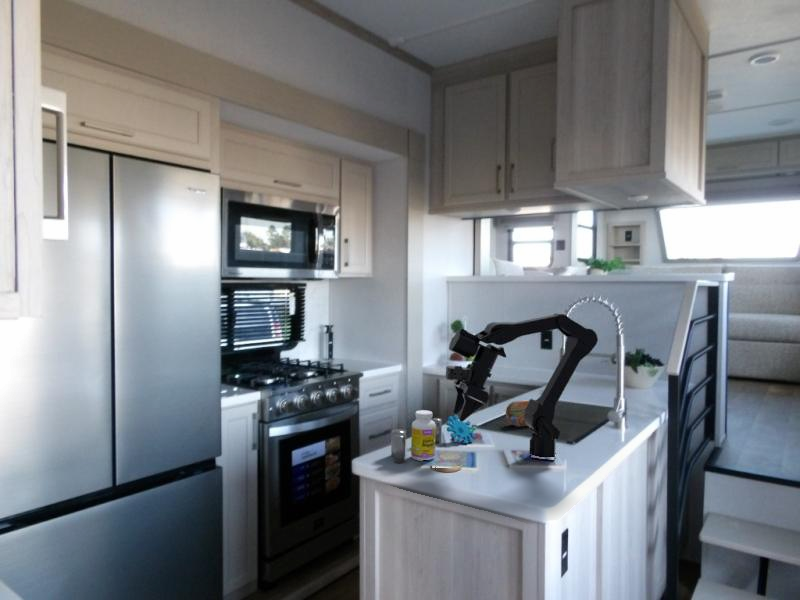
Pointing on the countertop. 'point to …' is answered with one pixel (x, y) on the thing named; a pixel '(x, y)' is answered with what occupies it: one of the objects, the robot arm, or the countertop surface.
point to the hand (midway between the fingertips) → (457, 417)
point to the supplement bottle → (423, 436)
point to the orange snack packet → (516, 413)
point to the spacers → (400, 441)
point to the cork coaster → (448, 469)
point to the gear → (460, 429)
